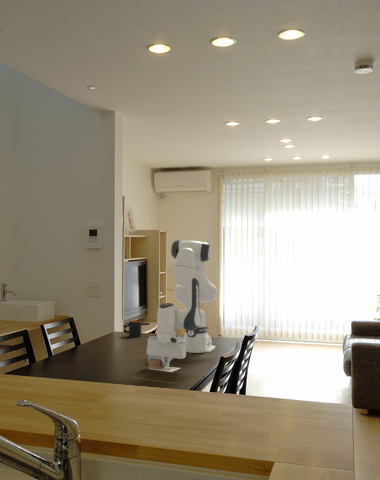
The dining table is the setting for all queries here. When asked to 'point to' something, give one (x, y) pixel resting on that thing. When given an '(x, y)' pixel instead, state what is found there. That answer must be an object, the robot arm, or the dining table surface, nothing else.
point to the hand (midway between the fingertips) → (166, 366)
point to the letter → (167, 369)
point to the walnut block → (155, 363)
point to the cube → (153, 357)
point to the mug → (134, 328)
